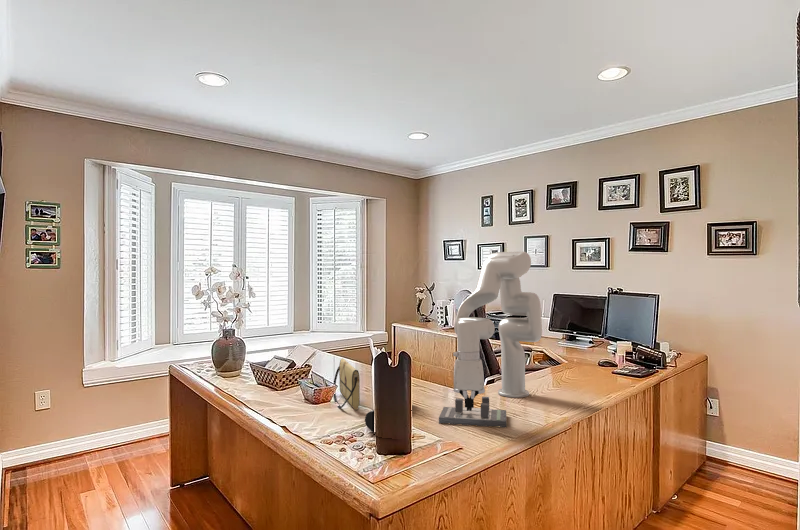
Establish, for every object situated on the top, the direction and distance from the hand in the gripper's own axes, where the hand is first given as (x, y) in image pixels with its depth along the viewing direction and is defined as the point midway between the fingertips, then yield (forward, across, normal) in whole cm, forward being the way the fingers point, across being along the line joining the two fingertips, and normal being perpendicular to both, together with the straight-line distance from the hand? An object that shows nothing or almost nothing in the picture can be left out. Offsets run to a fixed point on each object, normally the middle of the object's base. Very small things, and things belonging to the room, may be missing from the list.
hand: (469, 409), depth 160 cm
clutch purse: (+4, -50, +14) cm, 52 cm away
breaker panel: (+3, +1, 0) cm, 4 cm away
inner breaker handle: (+1, +5, +4) cm, 7 cm away
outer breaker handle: (+1, +5, -5) cm, 7 cm away
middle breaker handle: (+1, -3, 0) cm, 4 cm away
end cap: (+4, -27, -15) cm, 31 cm away
